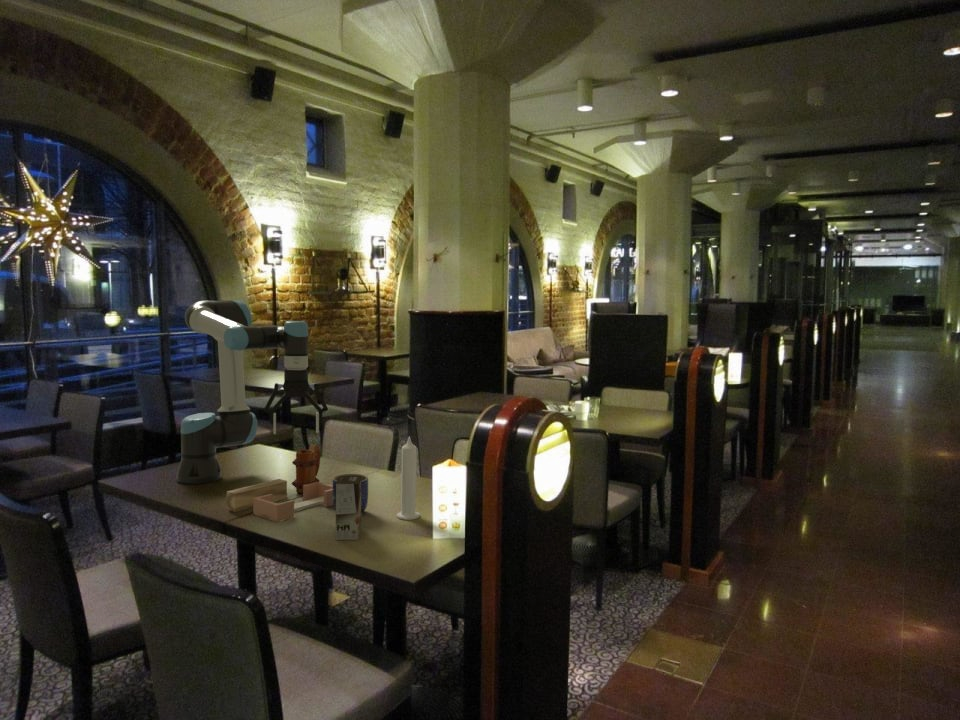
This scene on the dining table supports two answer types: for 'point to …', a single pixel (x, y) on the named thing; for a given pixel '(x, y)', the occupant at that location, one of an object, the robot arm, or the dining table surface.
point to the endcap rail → (278, 512)
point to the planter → (363, 490)
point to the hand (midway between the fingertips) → (296, 432)
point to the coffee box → (348, 507)
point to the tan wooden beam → (255, 494)
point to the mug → (306, 467)
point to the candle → (408, 482)
